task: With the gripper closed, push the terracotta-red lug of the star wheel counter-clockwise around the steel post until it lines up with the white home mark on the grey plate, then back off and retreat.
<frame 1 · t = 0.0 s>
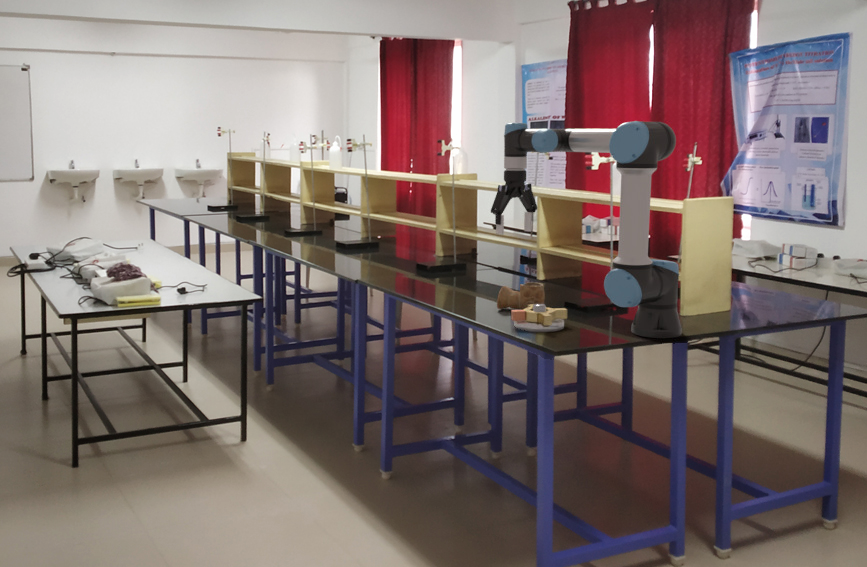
hand: (514, 232, 288), 28 cm above the table, fingers open, 13 cm apart
cap plate: (538, 326, 274), on the table
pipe: (521, 311, 297), on the table
star wheel: (539, 314, 273), point 4 cm above the table, hinge at -70.0°
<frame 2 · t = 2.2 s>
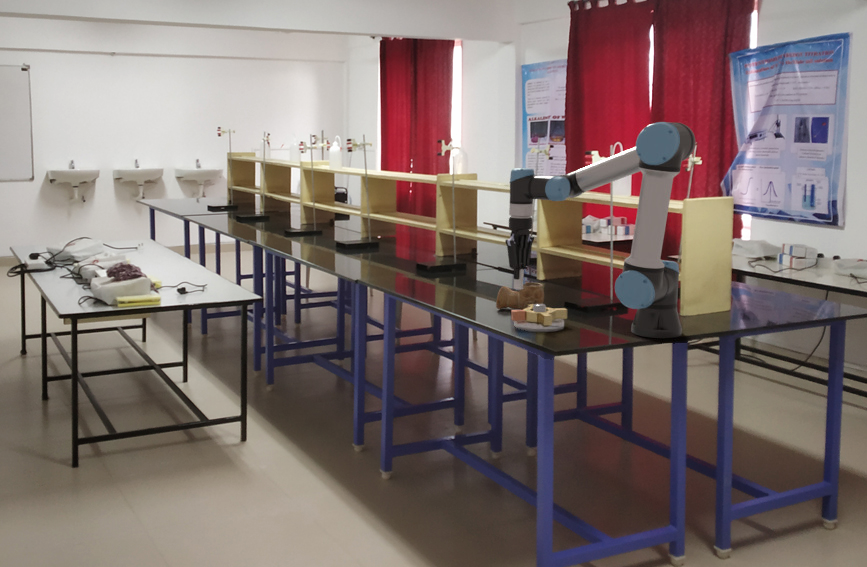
hand: (518, 288, 277), 11 cm above the table, fingers closed
nothing on the table moved.
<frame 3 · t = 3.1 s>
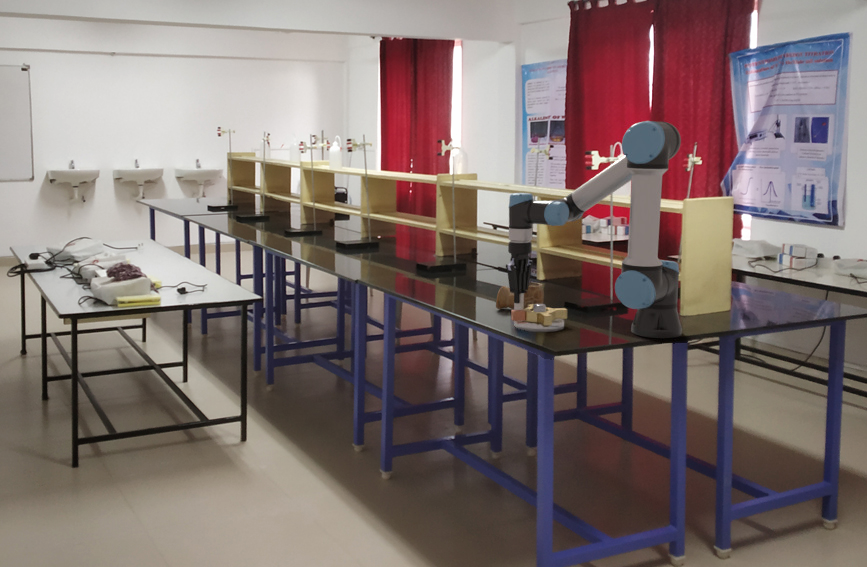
hand: (518, 312, 278), 3 cm above the table, fingers closed
nothing on the table moved.
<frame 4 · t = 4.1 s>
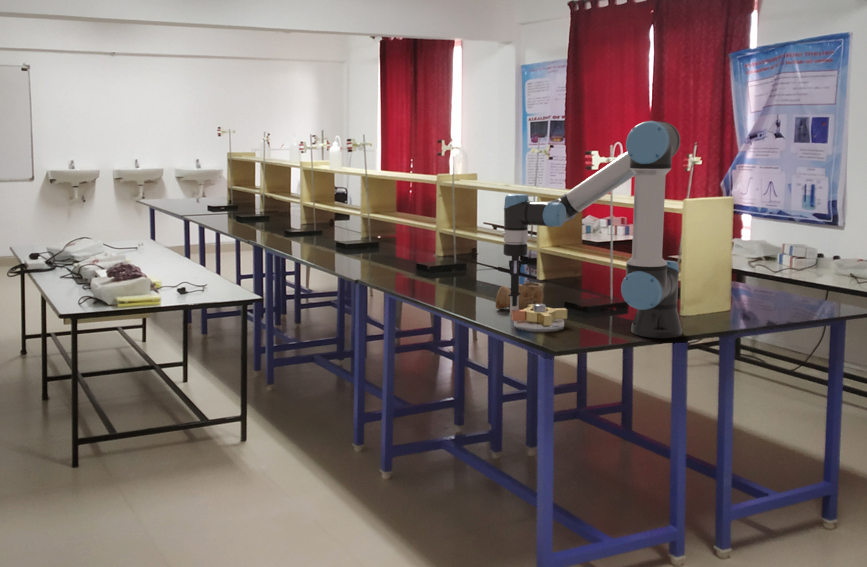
hand: (514, 315, 274), 3 cm above the table, fingers closed
star wheel: (539, 314, 273), point 4 cm above the table, hinge at -70.0°, touching gripper
everything else where it was.
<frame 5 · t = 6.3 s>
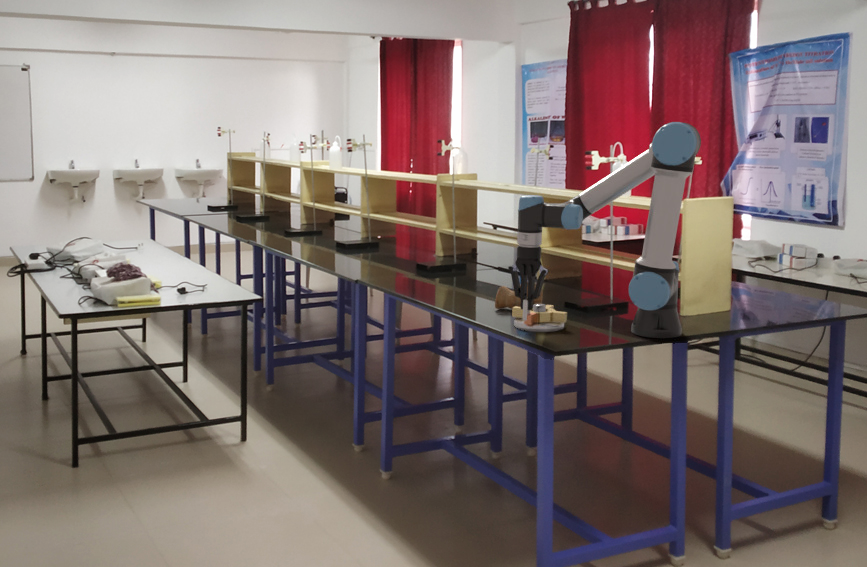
hand: (526, 319, 267), 4 cm above the table, fingers closed
star wheel: (539, 314, 273), point 4 cm above the table, hinge at -20.9°, touching gripper
everything else where it was.
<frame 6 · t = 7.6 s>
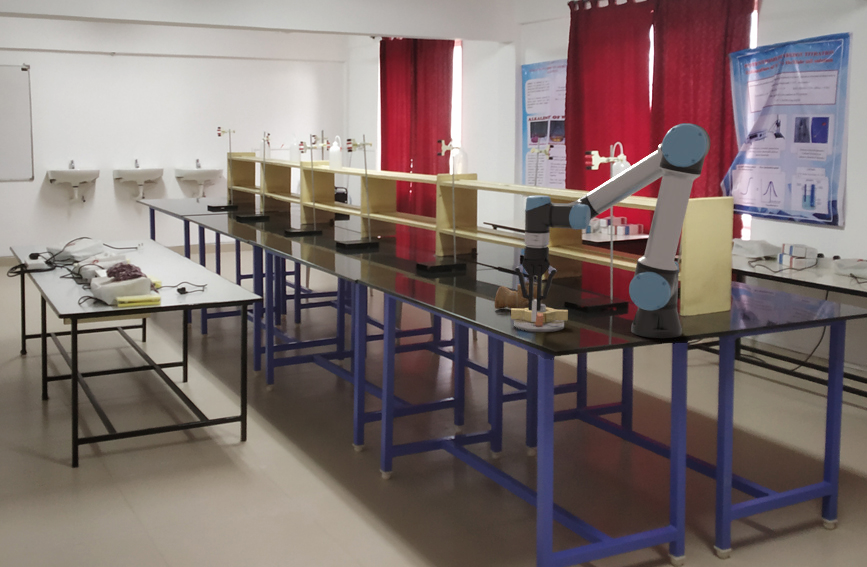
hand: (534, 320, 266), 4 cm above the table, fingers closed
star wheel: (539, 314, 273), point 4 cm above the table, hinge at 2.3°, touching gripper
everything else where it was.
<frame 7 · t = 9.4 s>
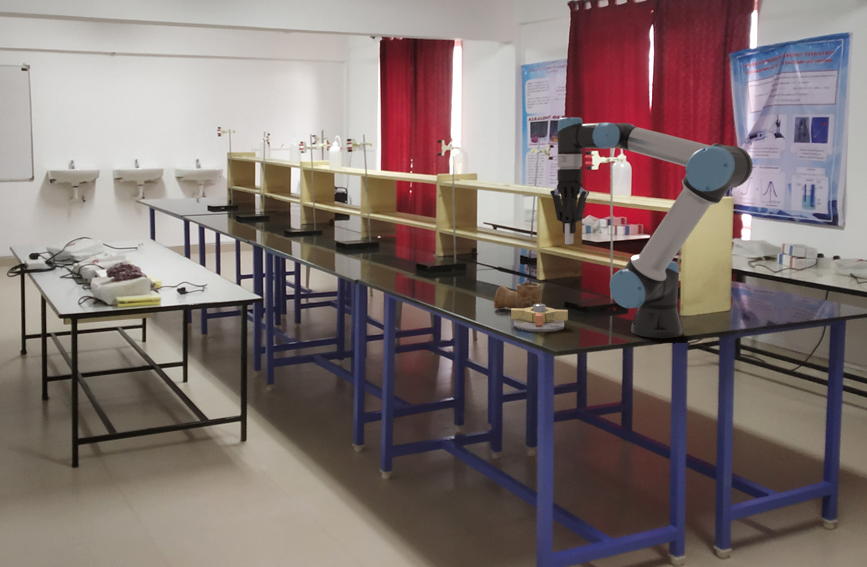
hand: (569, 243, 267), 27 cm above the table, fingers closed
star wheel: (539, 314, 273), point 4 cm above the table, hinge at 2.5°
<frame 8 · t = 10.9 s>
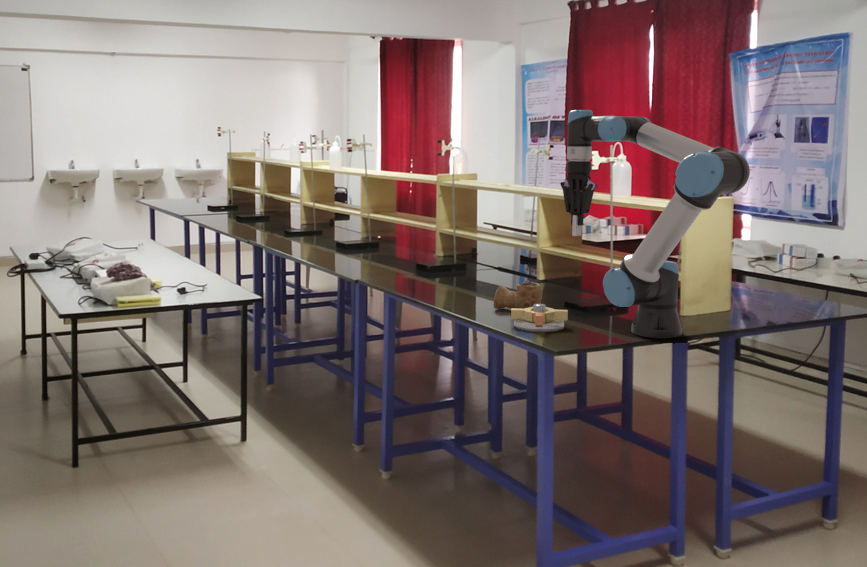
hand: (576, 235, 269), 29 cm above the table, fingers closed
at the end: star wheel at +2° (first picture: -70°) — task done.
